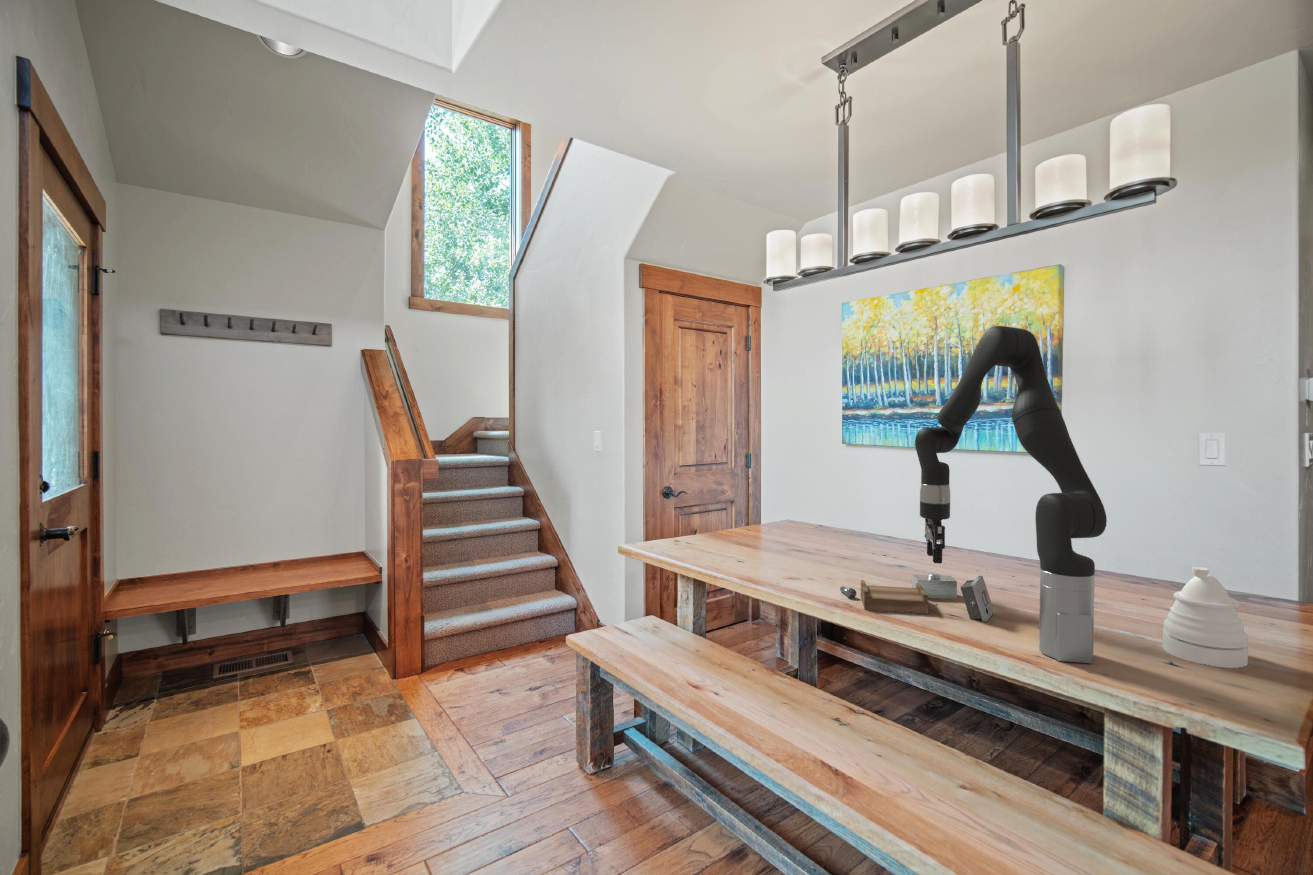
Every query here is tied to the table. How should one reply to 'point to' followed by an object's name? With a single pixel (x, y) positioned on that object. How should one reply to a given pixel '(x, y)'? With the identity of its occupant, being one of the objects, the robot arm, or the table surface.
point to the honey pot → (1205, 624)
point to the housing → (937, 585)
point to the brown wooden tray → (894, 598)
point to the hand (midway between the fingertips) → (934, 559)
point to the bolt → (848, 592)
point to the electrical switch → (977, 599)
